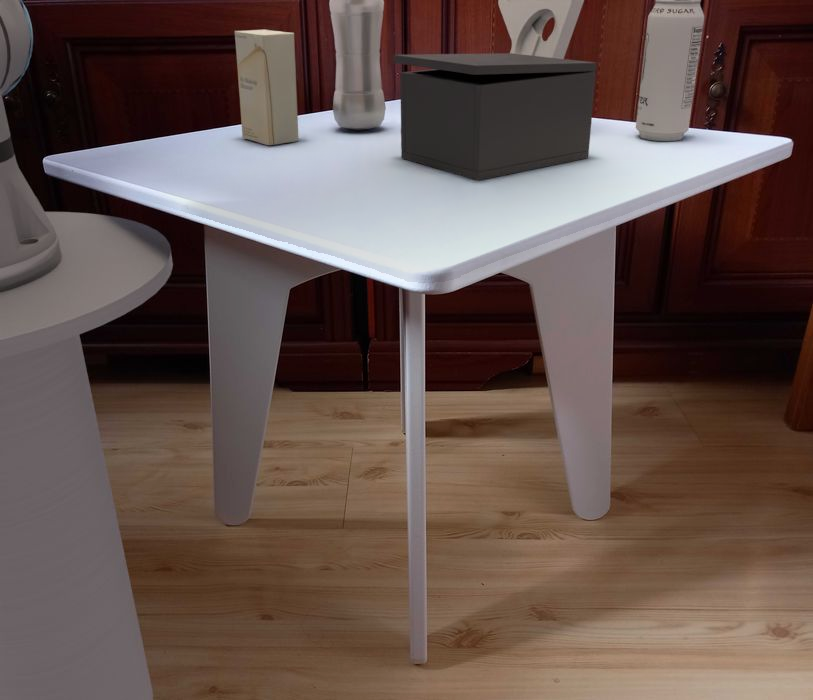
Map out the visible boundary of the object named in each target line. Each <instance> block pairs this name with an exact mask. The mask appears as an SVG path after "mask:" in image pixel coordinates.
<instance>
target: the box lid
mask: <svg viewBox="0 0 813 700" xmlns="http://www.w3.org/2000/svg"><path fill="white" fill-rule="evenodd" d="M393 64H398V65H405V66H411V67H419V68H426V69H430V70H431V69H438V70H445V71H452V72H459V73H466V74H473V75H485V74H517V73H549V72H580V71H595V72H596V71H597V65H598V63H597V62H593V61H584V60H576V59H575V60H574V59H567V58H564V59H558V58H549V57H540V56H531V55H522V54H513V53H510V52H509V53H508V52H507V53H505V52H502V53H433V54H432V53H430V54H429V53H427V54H426V53H425V54H424V53H423V54H417V53H416V54H393Z"/></svg>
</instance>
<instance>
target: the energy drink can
mask: <svg viewBox="0 0 813 700" xmlns="http://www.w3.org/2000/svg"><path fill="white" fill-rule="evenodd" d="M701 2H702V0H655V4H654V6H653V8H652V9H651V11H650V12H649V14H648V17H647V22H646V32H645V41H644V49H643V57H642V59H643V60H642V67H641V77H640V87H639V94H638V104H637V112H636V122H635V129H636V130H637V131H638V132H639V133H638V134H639V137H640V138H641V139H643V140H647V141H648V140H649V141H654V142H655V141H657V142H674V141H680V140H682V139H683V137H684V135H685V134H686V133H688V132H689V129H690V122H691V114H692V107H693V100H694V94H695V86H696V81H697V79H696V78H697V73H698V65H699V59H700V50H701V45H702V43H701V42H702V37H703V30H704V22H705V14H704V11H703V9H702V7H701Z"/></svg>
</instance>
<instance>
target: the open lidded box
mask: <svg viewBox="0 0 813 700" xmlns="http://www.w3.org/2000/svg"><path fill="white" fill-rule="evenodd" d="M596 75H597V72H596V71H580V72H549V73H517V74H485V75H473V74H466V73H459V72H452V71H445V70H438V69H431V68H430V69H421V70H412V71H404V72H400V74H399V77H400V81H399V82H400V84H399V85H400V86H399V87H400V140H401V141H400V149H401V150H400V156H401V157H400V158H401V159H404V160H407V161H410V162H413V163H417V164H420V165H424V166H427V167H431V168H434V169H438V170H440V171H441V170H442V171H445V172H448V173H451V174H455V175H458V176H462V177H465V178H469V179H472V180H476V181H482V180H487V179H491V178H496V177H501V176H506V175H511V174H516V173H521V172H525V171H531V170H535V169H540V168H545V167H551V166H555V165H560V164H566V163H570V162H575V161H581V160H584V159H585V160H586V159H588V158H589V155H590V153H589V152H590V142H591V132H592V131H591V130H592V118H593V109H594V108H593V107H594V96H595V87H596V86H595V85H596Z"/></svg>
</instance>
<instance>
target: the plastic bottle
mask: <svg viewBox="0 0 813 700" xmlns="http://www.w3.org/2000/svg"><path fill="white" fill-rule="evenodd" d="M328 5H329V12H330V20H331V25H332V31H333V38H334V50H335V62H336V65H335V83H334V86H335V88H334V89H335V90H334V94H333V99H332V113H333V118H334V121H335V122H336V123H337V125H338V126H339V127H340V128H345V129H348V130H349V129H350V130H354V131H365V130H370V129H373V128H378V127H380V126H381V125H382V124H383V122H384V120H385V115H386V109H387V107H386V100H385V95H384V90H383V84H382V73H381V52H380V50H381V40H382V39H381V36H382V29H383V28H382V27H383V20H384V19H383V18H384V11H385V1H384V0H329V3H328Z"/></svg>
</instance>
